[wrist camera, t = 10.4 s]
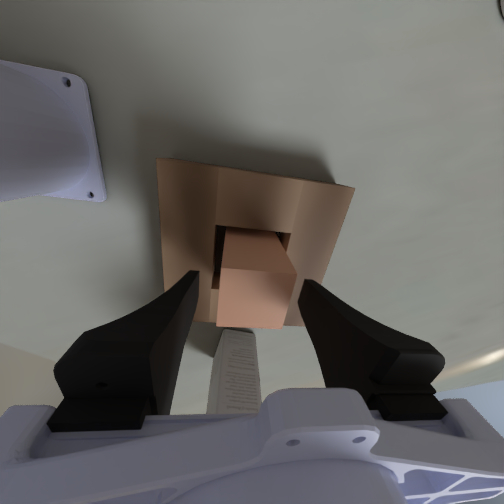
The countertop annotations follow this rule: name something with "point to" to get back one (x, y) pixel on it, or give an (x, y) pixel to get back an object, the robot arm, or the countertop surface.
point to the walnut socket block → (244, 222)
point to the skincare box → (235, 375)
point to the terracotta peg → (254, 280)
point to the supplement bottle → (502, 6)
